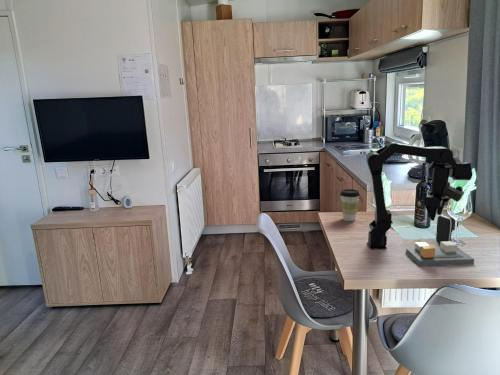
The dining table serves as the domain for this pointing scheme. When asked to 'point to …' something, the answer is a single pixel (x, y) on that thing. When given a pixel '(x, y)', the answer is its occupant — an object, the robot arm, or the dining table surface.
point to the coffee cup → (349, 203)
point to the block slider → (427, 251)
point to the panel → (441, 257)
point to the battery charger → (445, 228)
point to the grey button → (418, 246)
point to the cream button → (447, 246)
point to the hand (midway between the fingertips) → (435, 217)
